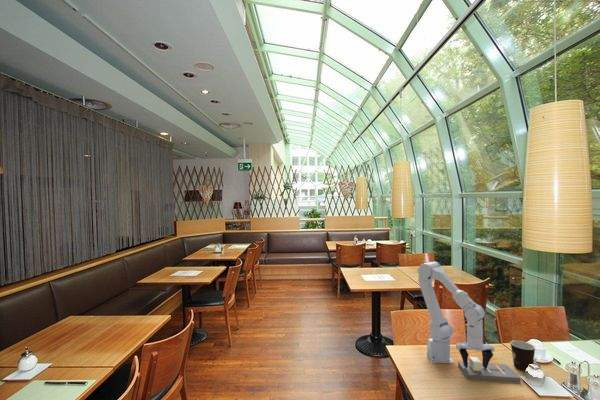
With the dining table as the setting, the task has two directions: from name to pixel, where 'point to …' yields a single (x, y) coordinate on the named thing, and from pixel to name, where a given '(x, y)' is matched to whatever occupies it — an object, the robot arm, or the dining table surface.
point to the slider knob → (475, 363)
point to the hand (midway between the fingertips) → (475, 367)
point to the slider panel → (490, 373)
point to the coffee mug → (522, 354)
